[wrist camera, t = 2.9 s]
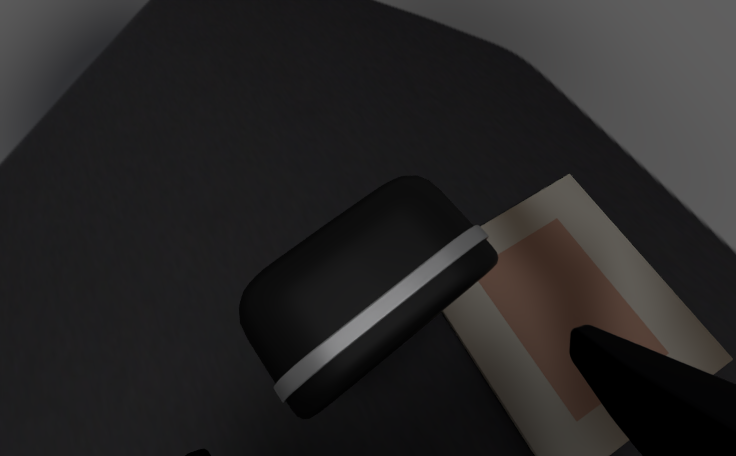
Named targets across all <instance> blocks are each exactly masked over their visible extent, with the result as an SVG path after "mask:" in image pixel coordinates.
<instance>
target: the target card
mask: <svg viewBox="0 0 736 456" xmlns="http://www.w3.org/2000/svg"><path fill="white" fill-rule="evenodd" d="M481 228H482V229H483V230H484V231H485V232H486V233H487V235H488V236H489V237H488V239H487V241H488V242H489V243H490V244H491V245H492V246H493V248H494V249H495V250H496V252H497V254H498V262H497V264H496V265H495V266H494V268H493V269H492V270H490V271H489V272H488V273H487V274H486V275H485V276H484V277H482V278H481V279H480V280H479V281H478V282H477V283H475V284H474V285H473V286H472V287H471V288H469V289H468V290H467V291H466V292H465V293H463V294H462V295H461V296H460V297H459V298H457V299H456V300H455V301H454V302H453V303H451V304H450V305H449V306H448V307H447V308H445V309H444V310H443V311H442V313H443V315H444V316H445V318H446V319H447V321H448V322H449V324H450V326H451V327H452V329H453V330H454V332H455V333H456V335H457V336H458V338H459V339H460V341H461V343H462V344H463V346H464V347H465V349H466V350H467V352H468V353H469V355H470V356H471V358H472V360H473V361H474V363H475V364H476V366H477V367H478V369H479V370H480V372H481V373H482V375H483V377H484V378H485V380H486V381H487V383H488V384H489V386H490V387H491V389H492V390H493V392H494V394H495V395H496V397H497V398H498V400H499V401H500V403H501V404H502V406H503V407H504V409H505V411H506V412H507V414H508V415H509V417H510V418H511V420H512V421H513V423H514V424H515V426H516V428H517V429H518V431H519V432H520V434H521V435H522V437H523V438H524V440H525V441H526V443H527V445H528V446H529V448H530V449H531V451H532V452H533V454H534V455H535V456H609V455H611V454H612V453H613V452H615V451H616V450H617V449H618V448H620V447H621V446H622V445H624V444H625V443H626V442H627V441H629V439H628V438H627V436H626V435H625V434H624V433H623V432H622V430H621V429H620V428H619V427H618V425H617V424H616V423H615V422H614V420H613V419H612V418H611V416H610V415H609V413H608V412H607V411H606V409H605V408H604V406H603V405H602V404H601V402H600V401H599V399H598V398H597V396H596V395H595V393H594V392H593V391H592V389H591V388H590V386H589V385H588V383H587V382H586V380H585V379H584V378H583V376H582V375H581V373H580V372H579V370H578V369H577V367H576V366H575V365H574V363H573V361H572V360H571V357H570V354H569V347H570V332H571V330H572V329H573V328H576V327H579V326H582V325H586V324H588V325H592V326H595V327H597V328H600V329H602V330H604V331H607V332H609V333H612V334H614V335H617V336H619V337H622V338H624V339H626V340H629V341H631V342H634V343H636V344H639V345H641V346H644V347H646V348H649V349H651V350H653V351H656V352H658V353H661V354H663V355H666V356H668V357H671V358H673V359H676V360H678V361H680V362H683V363H685V364H688V365H690V366H693V367H695V368H698V369H700V370H702V371H705V372H707V373H710V374H712V375H713V374H715V373H716V372H717V371H719V370H720V369H721V368H722V367H724V366H725V365H726V364H728V363H729V362H730V361H731V360H733V359H732V357H731V356H730V355H729V354H728V353H727V352H726V351H725V350H724V348H723V347H722V346H721V345H720V344H719V343H718V342H717V340H716V339H715V338H714V337H713V336H712V335H711V334H710V333H709V331H708V330H707V329H706V328H705V327H704V326H703V325H702V323H701V322H700V321H699V320H698V319H697V318H696V317H695V316H694V314H693V313H692V312H691V311H690V310H689V309H688V308H687V306H686V305H685V304H684V303H683V302H682V301H681V300H680V299H679V297H678V296H677V295H676V294H675V293H674V292H673V291H672V289H671V288H670V287H669V286H668V285H667V284H666V283H665V282H664V280H663V279H662V278H661V277H660V276H659V275H658V274H657V272H656V271H655V270H654V269H653V268H652V267H651V266H650V265H649V263H648V262H647V261H646V260H645V259H644V258H643V257H642V255H641V254H640V253H639V252H638V251H637V250H636V249H635V248H634V246H633V245H632V244H631V243H630V242H629V241H628V240H627V238H626V237H625V236H624V235H623V234H622V233H621V232H620V231H619V229H618V228H617V227H616V226H615V225H614V224H613V223H612V221H611V220H610V219H609V218H608V217H607V216H606V215H605V213H604V212H603V211H602V210H601V209H600V208H599V207H598V206H597V204H596V203H595V202H594V201H593V200H592V199H591V198H590V196H589V195H588V194H587V193H586V192H585V191H584V190H583V189H582V187H581V186H580V185H579V184H578V183H577V182H576V181H575V179H574V178H573V177H572V176H571V175H570V174H568V175H567V176H565V177H563V178H562V179H560V180H558V181H557V182H555V183H553V184H552V185H550V186H548V187H547V188H545V189H543V190H541V191H540V192H538V193H536V194H535V195H533V196H531V197H530V198H528V199H526V200H525V201H523V202H521V203H520V204H518V205H516V206H514V207H513V208H511V209H509V210H508V211H506V212H504V213H503V214H501V215H499V216H498V217H496V218H494V219H492V220H491V221H489V222H487V223H486V224H484V225H482V226H481Z"/></svg>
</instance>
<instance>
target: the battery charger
mask: <svg viewBox="0 0 736 456" xmlns="http://www.w3.org/2000/svg"><path fill="white" fill-rule="evenodd" d="M488 237H489V236H488V235H487V233H486V232H485V231H484V230H483V229H482V228H481V227H480V226H479V225H475V226H473V225H472V224H471V223H470V221H469V220H468V219H467V218H466V217H465V216H464V215H463V214H462V213H461V212H460V211H459V210H458V209H457V208H456V206H455V205H454V204H453V203H452V202H451V201H450V200H449V199H448V198H447V197H446V196H445V195H444V194H443V193H442V191H441V190H439V189H438V188H437V187H436V186H435V185H434V184H432V183H431V182H430V181H429V180H427V179H424V178H422V177H419V176H402V177H398V178H396V179H394V180H392V181H390V182H388V183H386V184H384V185H382V186H381V187H379V188H378V189H376V190H375V191H373V192H372V193H370V194H369V195H367V196H366V197H364V198H363V199H362V200H360V201H359V202H357V203H356V204H354V205H353V206H352V207H350V208H349V209H347V210H346V211H344V212H343V213H341V214H340V215H339V216H337V217H336V218H334V219H333V220H331V221H330V222H328V223H327V224H326V225H324V226H323V227H321V228H320V229H319V230H317V231H316V232H314V233H313V234H312V235H310V236H309V237H307V238H306V239H305V240H303V241H302V242H300V243H299V244H298V245H296V246H295V247H294V248H292V249H291V250H289V251H288V252H287V253H285V254H284V255H282V256H281V257H280V258H278V259H277V260H275V261H274V262H273V263H271V264H270V265H269V266H267V267H266V268H265V269H263V270H262V271H261V272H260V273H259V274H258V275H257V276H256V277H255V278H254V279H253V280H252V281H251V282H250V283H249V284H248V286H247V287H246V289H245V290H244V292H243V295H242V298H241V301H240V305H239V315H240V324H241V326H242V328H243V330H244V332H245V334H246V337H247V339H248V340H249V342H250V344H251V345H252V347H253V348H254V350H255V352H256V353H257V355H258V356H259V358H260V360H261V361H262V363H263V364H264V366H265V368H266V369H267V371H268V372H269V374H270V376H271V377H272V379H273V380H274V382H275V386H274V390H275V391H276V393H277V394H278V396H279V398H280V399H281V401H282V402H283V403H284V402H287V403H288V404H289V406H290V408H291V409H292V411H293V412H294V413H295V414H296V415H297V416H298V417H300V418H302V419H309V418H311V417H313V416H314V415H316V414H318V413H319V412H320V411H322V410H323V409H324V408H326V407H327V406H328V405H329V404H331V403H332V402H333V401H334V400H336V399H337V398H338V397H339V396H340V395H342V394H343V393H344V392H345V391H347V390H348V389H349V388H350V387H351V386H353V385H354V384H355V383H356V382H357V381H359V380H360V379H361V378H362V377H363V376H365V375H366V374H367V373H368V372H369V371H371V370H372V369H373V368H374V367H376V366H377V365H378V364H379V363H380V362H382V361H383V360H384V359H385V358H386V357H388V356H389V355H390V354H391V353H392V352H394V351H395V350H396V349H397V348H398V347H400V346H401V345H402V344H403V343H404V342H406V341H407V340H408V339H409V338H410V337H412V336H413V335H414V334H415V333H416V332H418V331H419V330H420V329H421V328H423V327H424V326H425V325H426V324H427V323H429V322H430V321H431V320H432V319H433V318H435V317H436V316H437V315H438V314H439V313H441V312H442V311H443V310H444V309H445V308H447V307H448V306H449V305H450V304H451V303H453V302H454V301H455V300H456V299H457V298H459V297H460V296H461V295H462V294H463V293H465V292H466V291H467V290H468V289H469V288H471V287H472V286H473V285H474V284H475V283H477V282H478V281H479V280H480V279H481V278H482V277H484V276H485V275H486V274H487V273H488V272H489V271H490V270H492V269H493V268H494V266H495V265H496V264H497V262H498V254H497V252H496V250H495V249H494V248H493V246H492V245H491V244H490V243H489V242H488V241H487V239H488Z"/></svg>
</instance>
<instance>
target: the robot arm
mask: <svg viewBox="0 0 736 456" xmlns="http://www.w3.org/2000/svg"><path fill="white" fill-rule="evenodd" d="M569 354H570V357H571V360H572V361H573V363H574V365H575V366H576V367H577V369H578V370H579V372H580V373H581V375H582V376H583V378H584V379H585V380H586V382H587V383H588V385H589V386H590V388H591V389H592V391H593V392H594V393H595V395H596V396H597V398H598V399H599V401H600V402H601V404H602V405H603V406H604V408H605V409H606V411H607V412H608V413H609V415H610V416H611V418H612V419H613V420H614V422H615V423H616V424H617V425H618V427H619V428H620V429H621V430H622V432H623V433H624V434H625V435H626V436H627V438H628V439H629V440H630V441H631V442H632V444H633V445H634V446H635V447H636V448H637V449H638V451H639V452H640V453H641V454H642V455H643V456H736V384H734V383H732V382H729V381H727V380H725V379H722V378H720V377H717V376H715V375H712V374H710V373H707V372H705V371H702V370H700V369H698V368H695V367H693V366H690V365H688V364H685V363H683V362H680V361H678V360H676V359H673V358H671V357H668V356H666V355H663V354H661V353H658V352H656V351H653V350H651V349H649V348H646V347H644V346H641V345H639V344H636V343H634V342H631V341H629V340H626V339H624V338H622V337H619V336H617V335H614V334H612V333H609V332H607V331H604V330H602V329H600V328H597V327H595V326H592V325H588V324H586V325H582V326H579V327H576V328H573V329H572V330H571V332H570V347H569ZM185 456H211V455H210V454H209V452H208V451H207V450H206V449H200V450H197V451H194V452H191V453H188V454H187V455H185Z"/></svg>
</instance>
